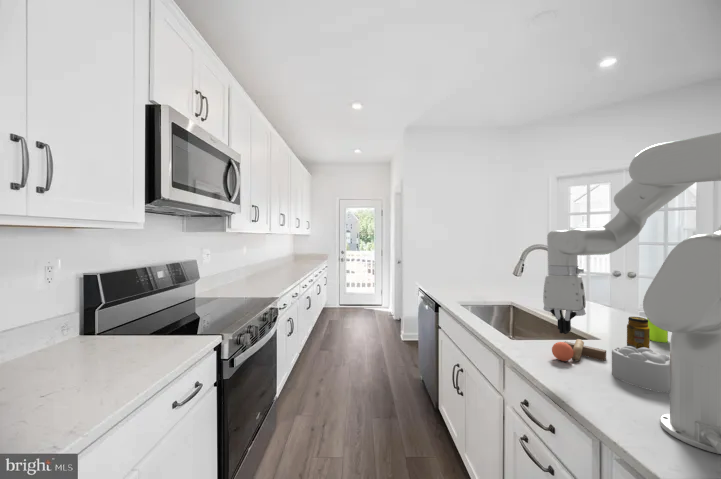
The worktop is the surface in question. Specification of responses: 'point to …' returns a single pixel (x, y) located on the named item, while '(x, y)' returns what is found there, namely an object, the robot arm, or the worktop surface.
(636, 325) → the condiment
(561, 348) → the ball
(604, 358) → the wall
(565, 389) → the worktop surface
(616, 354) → the paw print mold
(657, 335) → the soap dispenser
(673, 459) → the worktop surface
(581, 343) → the pin
